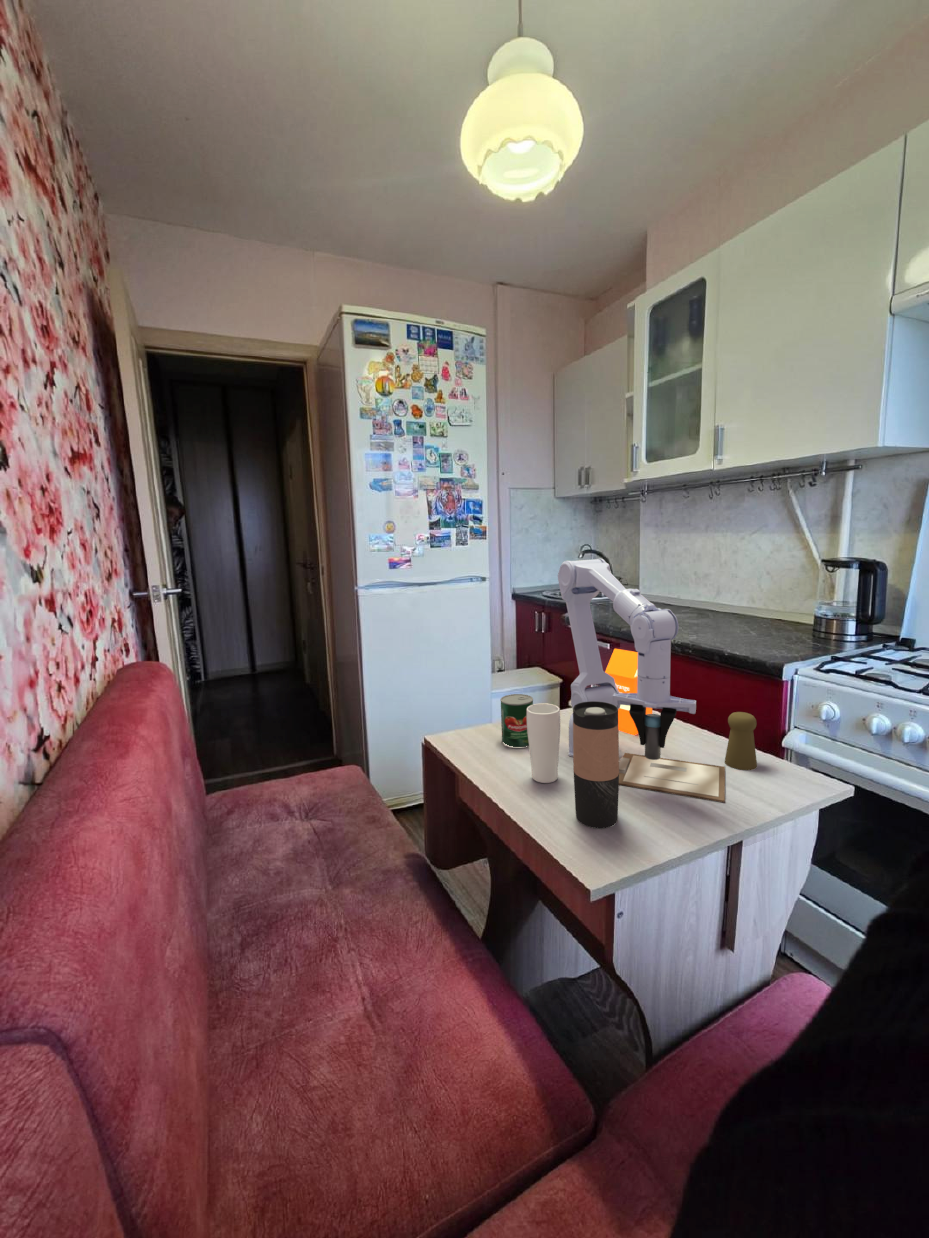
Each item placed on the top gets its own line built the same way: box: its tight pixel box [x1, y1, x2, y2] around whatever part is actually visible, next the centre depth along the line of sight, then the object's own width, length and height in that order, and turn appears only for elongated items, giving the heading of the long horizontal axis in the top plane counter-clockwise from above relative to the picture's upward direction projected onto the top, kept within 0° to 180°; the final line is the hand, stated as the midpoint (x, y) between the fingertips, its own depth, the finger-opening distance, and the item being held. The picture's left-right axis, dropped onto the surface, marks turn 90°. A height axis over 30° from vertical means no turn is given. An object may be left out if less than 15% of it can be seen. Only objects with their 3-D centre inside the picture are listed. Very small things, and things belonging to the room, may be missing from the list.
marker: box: [644, 713, 662, 760], centre depth 96 cm, size 3×3×8 cm
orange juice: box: [604, 648, 653, 736], centre depth 129 cm, size 8×9×20 cm
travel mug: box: [572, 701, 620, 830], centre depth 88 cm, size 8×8×20 cm
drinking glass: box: [526, 702, 561, 784], centre depth 104 cm, size 7×7×15 cm
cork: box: [724, 711, 758, 771], centre depth 106 cm, size 6×6×11 cm
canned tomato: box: [500, 693, 534, 748], centre depth 123 cm, size 8×8×11 cm
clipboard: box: [619, 752, 726, 803], centre depth 103 cm, size 20×15×1 cm
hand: (652, 744), depth 96 cm, fingers closed on marker, 3 cm apart
